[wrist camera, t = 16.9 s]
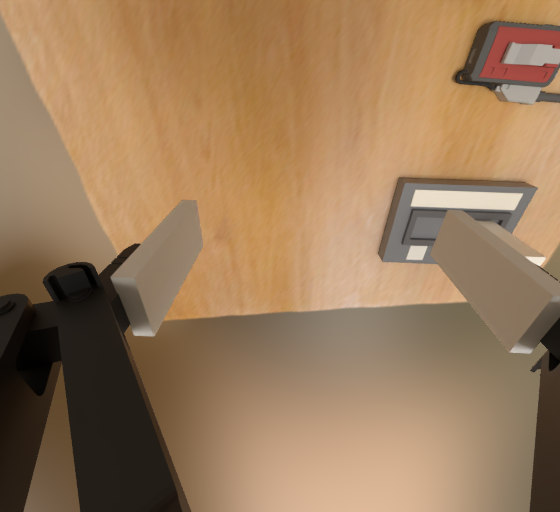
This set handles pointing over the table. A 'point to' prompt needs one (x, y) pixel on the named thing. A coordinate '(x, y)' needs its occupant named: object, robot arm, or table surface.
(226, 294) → the table surface
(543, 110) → the table surface
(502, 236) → the lever
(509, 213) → the switch box
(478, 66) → the walkie-talkie
